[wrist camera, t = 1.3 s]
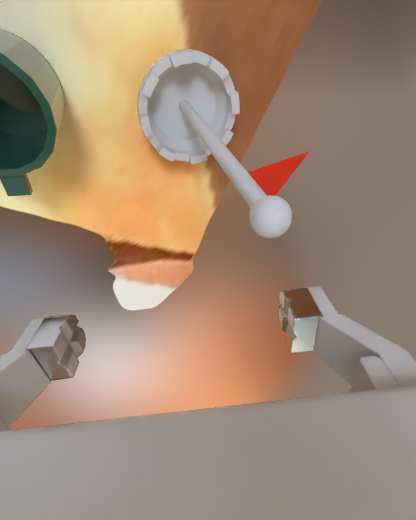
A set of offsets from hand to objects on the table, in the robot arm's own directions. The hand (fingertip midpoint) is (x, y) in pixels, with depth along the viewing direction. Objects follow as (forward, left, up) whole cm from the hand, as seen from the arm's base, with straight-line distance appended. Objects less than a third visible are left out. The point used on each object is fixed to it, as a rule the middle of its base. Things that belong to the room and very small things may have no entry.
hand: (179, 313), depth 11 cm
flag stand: (+8, -1, -36) cm, 37 cm away
